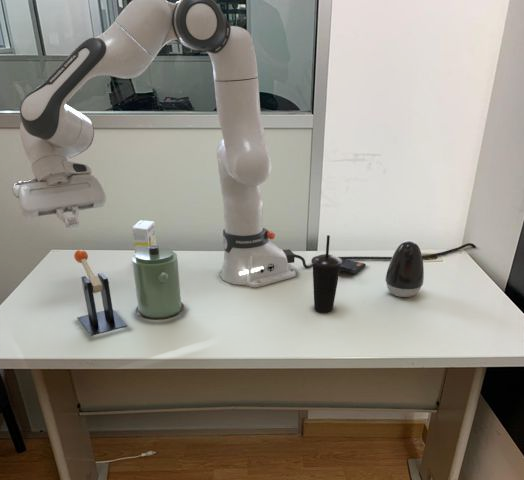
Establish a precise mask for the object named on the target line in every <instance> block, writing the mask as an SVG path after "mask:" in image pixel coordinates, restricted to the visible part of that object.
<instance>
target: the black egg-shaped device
mask: <svg viewBox="0 0 524 480" xmlns="http://www.w3.org/2000/svg"><path fill="white" fill-rule="evenodd" d="M422 255H423V253H422V251H421V248H420V246H419V245H418V243H416V242H415V241H414V240H404V241H403V242H402V243H400V244H399V246H398V247H397V248H396V249H395V251H394V253H393V255H392V256H391V257H392V259H391V260H390V262H389V264H388V267H387V270H386V273H385V278H384V279H385V280H384V281H385V284H386V287H387V289H388V291H389V292H390V293H391V294H392V295H394V296H396V297H399V298H410V297H413V296H415V295H417V294H418V293H419V291H420V290H421V288H422V286H423V285H424V281H425V266H424V260H423V259H424V258H422Z"/></svg>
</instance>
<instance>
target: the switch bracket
mask: <svg viewBox="0 0 524 480" xmlns="http://www.w3.org/2000/svg"><path fill="white" fill-rule="evenodd" d="M97 276H98V277H99V279H100V281H101V283H102V291H101V292H100V294H101V300H102V307H103V310H100V311H97V308H96V303H95V297H94V293H93V291H92V285H91V282H90V281H89V278H88V277H87V275H86V276H85V275H84V276H81V287H82V290H83V294H84V299H85V304H86V310H87V314H85V315H81V316H76V317H77V320H78V321H79V322H80V324H81V325H82V326H83V327H84V329H85V330H86V331H87V333H88V335H90V337H92V336H95V335H100V334H104V333H108V332H112V331H114V330H118V329H122V328H125V327H128V324H127V323H126V322H125V321H124V320H123V319H122V317H120V315H119V314H118V313H117V312H116V311H115V310H114V309H113V304H112V296H111V291H110V282H109V279H108V277H107V276H106V275H105V274H104V273H103V272H98V273H97Z"/></svg>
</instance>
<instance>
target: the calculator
mask: <svg viewBox="0 0 524 480" xmlns="http://www.w3.org/2000/svg"><path fill="white" fill-rule="evenodd" d="M340 259H341V258H340ZM341 260H342V264H341V266H340V271H339V272H343V273H349V274H353V275H357V274H358V273H359V272H361V270H363V269H364V268H365V267H366V263H363V262H359V261H355V260H352V259H341Z"/></svg>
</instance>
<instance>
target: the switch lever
mask: <svg viewBox="0 0 524 480" xmlns="http://www.w3.org/2000/svg"><path fill="white" fill-rule="evenodd" d="M73 258H74V260H75V262H77V263H79V264H81V265H82V267H83V269H84V271H85V273H86V276H87V278H88V280H89V281H90V282H91V285H92V291H93V294H96V293H101V291H102V283H101V281H100V279H99V277H98V275H97V276H95V274H94V272H93V270H92V269H91V267H90V265H89V263H88V260H89V254H88V253H87V252H86V251H85V250H84V249H78V250H76V251H75V252H74V255H73Z"/></svg>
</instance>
